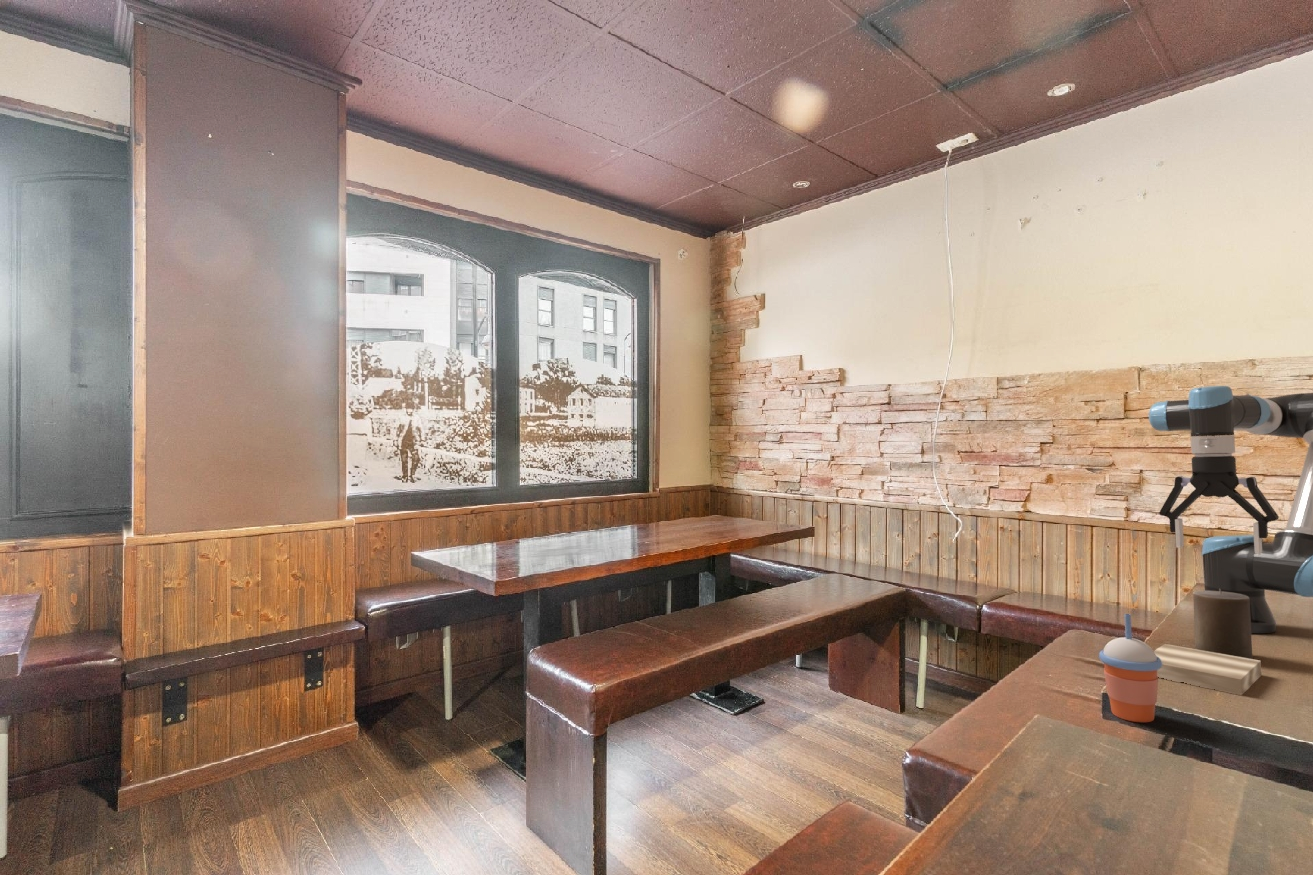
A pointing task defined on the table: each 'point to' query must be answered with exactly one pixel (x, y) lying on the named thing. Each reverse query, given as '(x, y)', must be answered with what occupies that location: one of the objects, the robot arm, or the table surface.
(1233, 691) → the wooden block
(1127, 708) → the cup with straw
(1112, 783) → the table surface
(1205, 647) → the pillar candle
